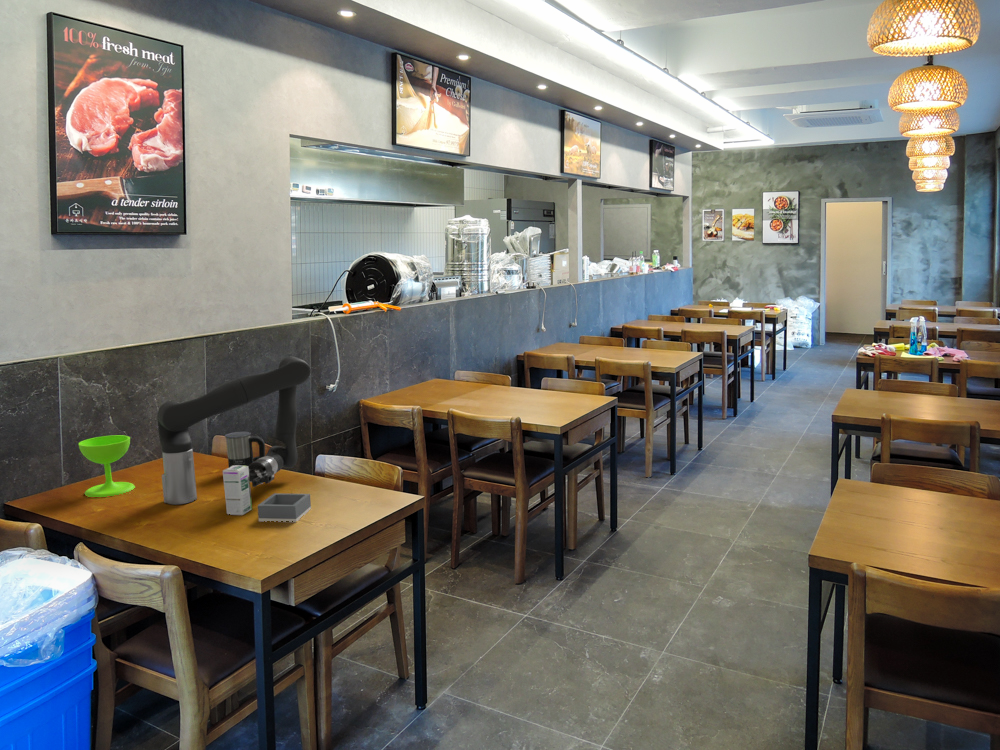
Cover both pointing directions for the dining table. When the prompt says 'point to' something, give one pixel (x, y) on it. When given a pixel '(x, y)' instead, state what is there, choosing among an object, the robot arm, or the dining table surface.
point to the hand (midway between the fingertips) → (240, 483)
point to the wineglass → (106, 462)
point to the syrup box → (237, 490)
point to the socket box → (284, 507)
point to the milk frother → (243, 448)
